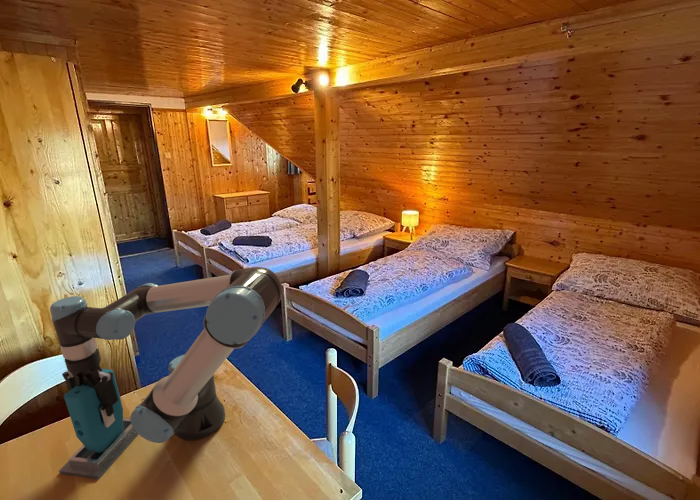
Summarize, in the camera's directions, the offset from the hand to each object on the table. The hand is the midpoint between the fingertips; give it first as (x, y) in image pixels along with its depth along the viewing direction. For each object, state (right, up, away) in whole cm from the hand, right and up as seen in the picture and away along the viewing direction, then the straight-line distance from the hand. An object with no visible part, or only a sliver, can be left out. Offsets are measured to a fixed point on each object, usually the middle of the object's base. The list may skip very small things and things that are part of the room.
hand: (101, 422), depth 106 cm
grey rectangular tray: (0, -8, +3) cm, 9 cm away
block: (0, -6, +2) cm, 6 cm away
